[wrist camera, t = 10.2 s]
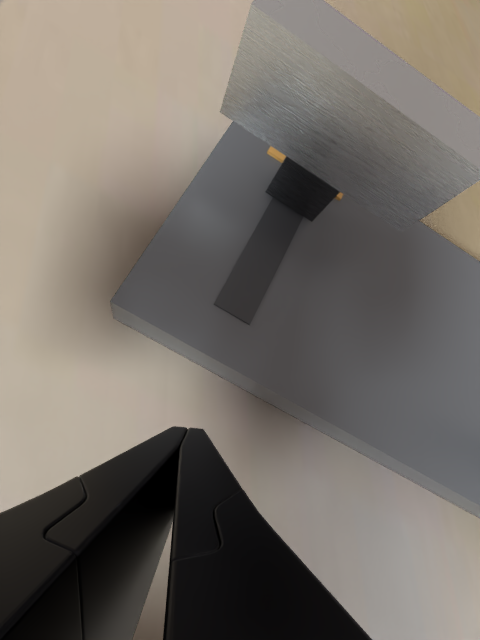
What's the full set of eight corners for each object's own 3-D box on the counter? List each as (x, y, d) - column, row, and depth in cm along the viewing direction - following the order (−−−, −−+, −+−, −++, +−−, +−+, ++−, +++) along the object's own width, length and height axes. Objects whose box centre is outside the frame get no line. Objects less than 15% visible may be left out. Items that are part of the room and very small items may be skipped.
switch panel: (543, 553, 22) (607, 575, 19) (113, 318, 18) (109, 300, 15) (566, 359, 27) (619, 353, 24) (231, 140, 23) (246, 100, 20)
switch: (362, 257, 19) (487, 174, 13) (206, 158, 18) (251, 3, 11) (375, 225, 20) (499, 131, 13) (226, 128, 19) (280, -33, 12)
